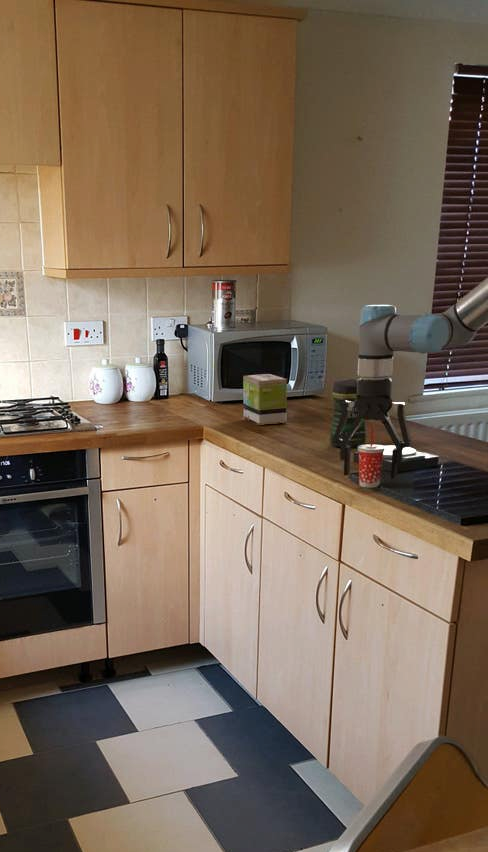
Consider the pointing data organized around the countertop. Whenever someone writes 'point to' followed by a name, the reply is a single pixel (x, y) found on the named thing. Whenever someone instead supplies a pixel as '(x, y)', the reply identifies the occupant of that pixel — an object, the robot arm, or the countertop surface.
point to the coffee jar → (349, 392)
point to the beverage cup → (370, 463)
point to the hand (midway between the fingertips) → (369, 475)
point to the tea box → (265, 398)
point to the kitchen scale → (405, 459)
